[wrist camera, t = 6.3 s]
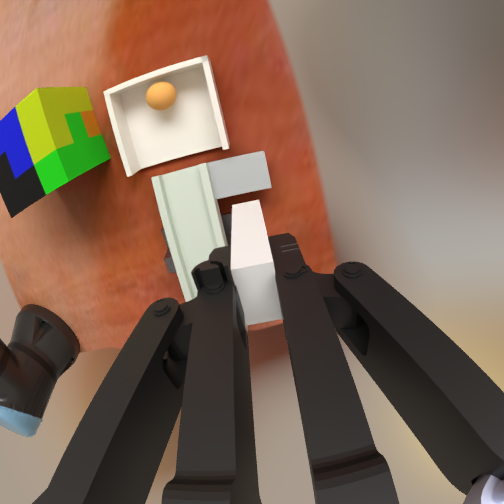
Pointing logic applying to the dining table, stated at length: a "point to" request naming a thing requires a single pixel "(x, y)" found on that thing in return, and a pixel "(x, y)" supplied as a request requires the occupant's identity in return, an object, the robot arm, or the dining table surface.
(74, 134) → the puzzle toy
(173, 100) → the ball
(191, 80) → the tray
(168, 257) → the fulcrum
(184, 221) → the lever
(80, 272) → the dining table surface
